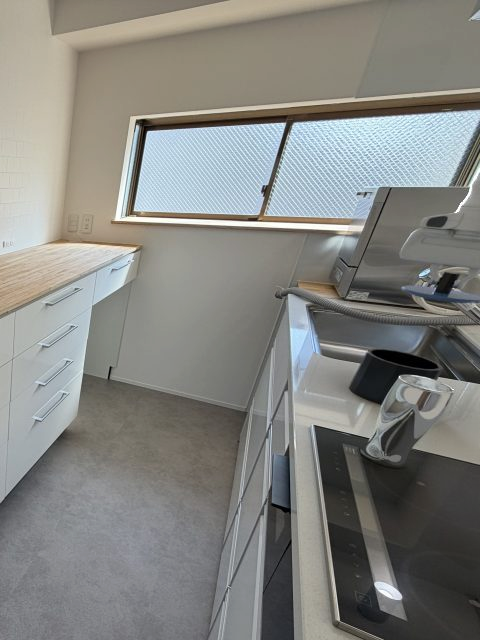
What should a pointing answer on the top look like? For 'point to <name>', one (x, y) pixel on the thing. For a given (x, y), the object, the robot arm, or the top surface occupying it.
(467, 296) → the lid
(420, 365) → the pot
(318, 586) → the top surface
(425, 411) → the beer glass
